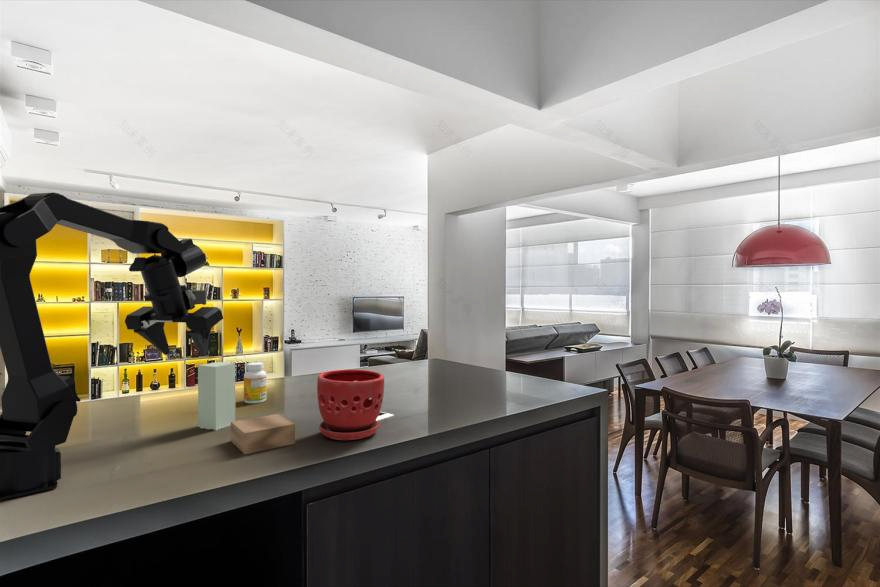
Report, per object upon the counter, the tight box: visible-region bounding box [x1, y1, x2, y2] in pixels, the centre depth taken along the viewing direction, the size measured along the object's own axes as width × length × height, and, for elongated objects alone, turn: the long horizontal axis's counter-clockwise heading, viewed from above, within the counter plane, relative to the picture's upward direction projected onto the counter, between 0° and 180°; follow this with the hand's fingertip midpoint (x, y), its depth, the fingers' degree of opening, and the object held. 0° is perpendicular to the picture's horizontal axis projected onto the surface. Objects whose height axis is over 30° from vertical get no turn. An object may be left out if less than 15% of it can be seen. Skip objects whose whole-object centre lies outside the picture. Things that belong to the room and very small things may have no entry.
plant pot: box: [316, 369, 385, 441], centre depth 91 cm, size 13×13×12 cm
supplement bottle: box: [243, 361, 268, 404], centre depth 118 cm, size 5×5×10 cm
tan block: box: [230, 413, 296, 455], centre depth 87 cm, size 9×9×4 cm
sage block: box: [197, 361, 236, 431], centre depth 97 cm, size 5×5×13 cm
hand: (186, 354), depth 97 cm, fingers open, 9 cm apart
